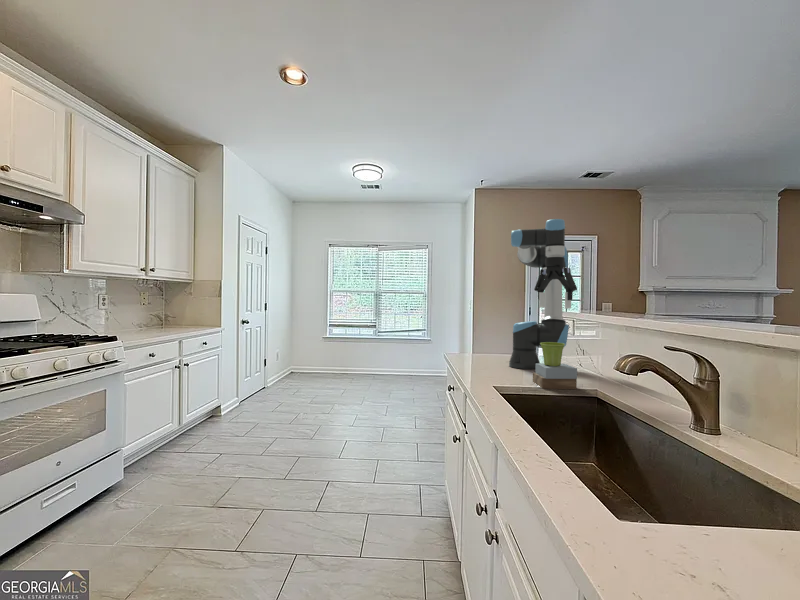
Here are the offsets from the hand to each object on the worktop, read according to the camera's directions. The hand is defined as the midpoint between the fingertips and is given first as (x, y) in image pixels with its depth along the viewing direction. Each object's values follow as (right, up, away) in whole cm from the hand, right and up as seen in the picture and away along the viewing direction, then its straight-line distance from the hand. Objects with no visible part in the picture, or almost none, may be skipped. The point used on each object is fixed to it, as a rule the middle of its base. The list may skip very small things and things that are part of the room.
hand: (554, 308), depth 173 cm
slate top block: (-3, -27, -8) cm, 28 cm away
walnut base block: (-3, -31, -7) cm, 32 cm away
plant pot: (-3, -23, -7) cm, 24 cm away
